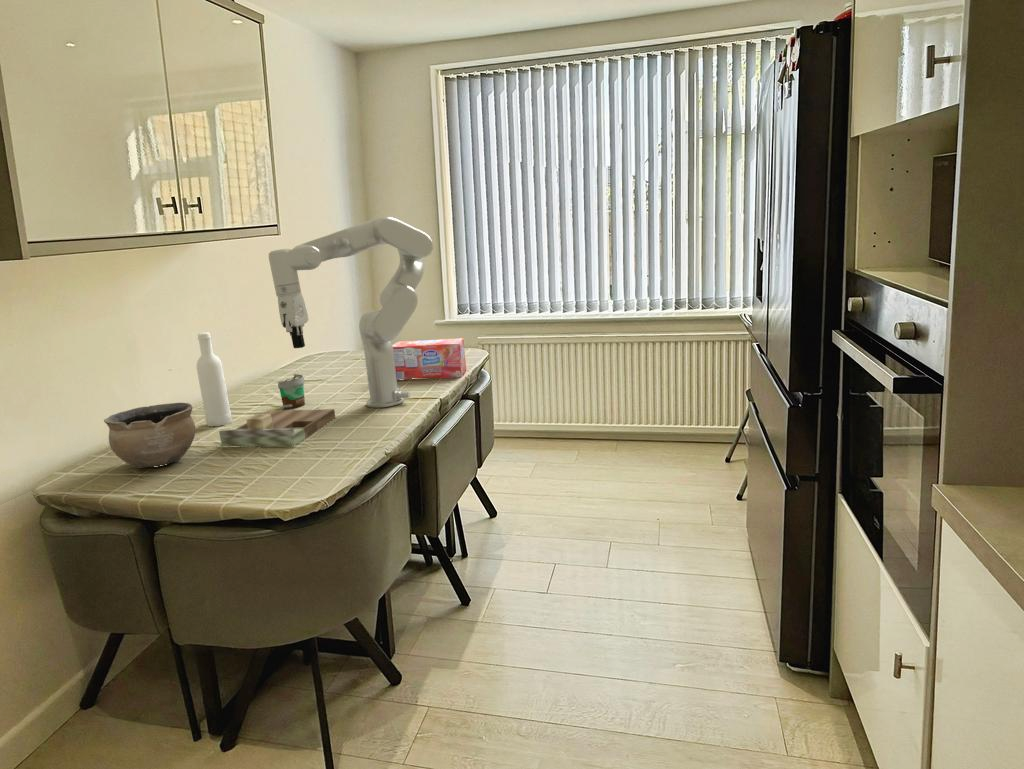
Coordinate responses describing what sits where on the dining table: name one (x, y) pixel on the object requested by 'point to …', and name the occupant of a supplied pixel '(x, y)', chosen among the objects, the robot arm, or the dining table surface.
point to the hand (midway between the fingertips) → (299, 347)
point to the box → (429, 358)
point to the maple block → (260, 421)
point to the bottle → (212, 384)
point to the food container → (292, 392)
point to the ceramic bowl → (152, 434)
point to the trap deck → (279, 429)
